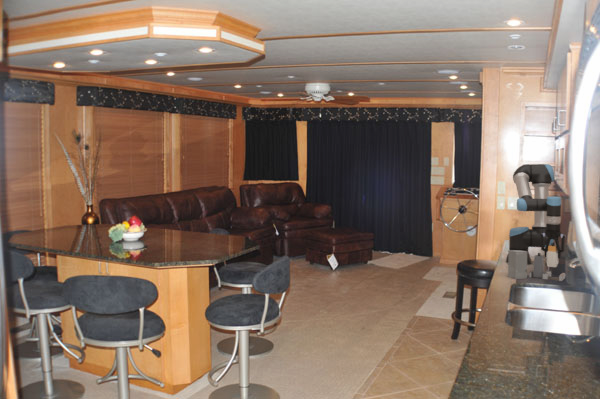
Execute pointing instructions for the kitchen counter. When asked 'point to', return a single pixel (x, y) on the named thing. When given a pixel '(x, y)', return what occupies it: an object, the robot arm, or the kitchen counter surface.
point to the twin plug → (538, 265)
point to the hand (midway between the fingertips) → (552, 263)
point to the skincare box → (517, 264)
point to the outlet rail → (548, 276)
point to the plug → (551, 255)
